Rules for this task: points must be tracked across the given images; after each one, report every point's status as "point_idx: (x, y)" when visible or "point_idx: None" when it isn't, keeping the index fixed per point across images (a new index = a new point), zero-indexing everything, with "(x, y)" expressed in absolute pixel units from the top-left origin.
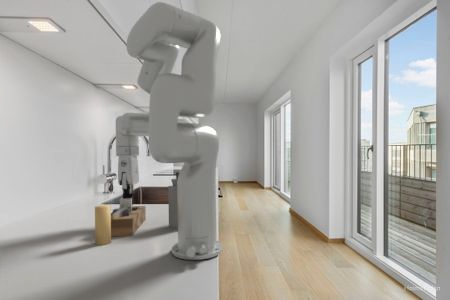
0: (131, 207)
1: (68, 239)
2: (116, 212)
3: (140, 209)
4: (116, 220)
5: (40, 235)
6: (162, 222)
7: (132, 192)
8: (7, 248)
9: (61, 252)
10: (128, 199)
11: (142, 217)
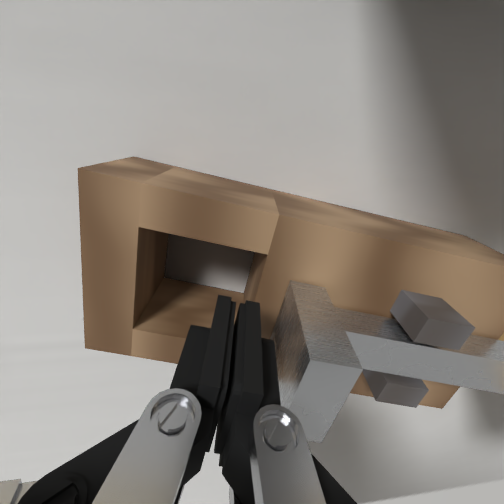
0: (314, 301)
1: (366, 419)
2: (487, 384)
3: (242, 218)
4: None
5: None
6: (258, 29)
7: (196, 401)
8: (369, 499)
9: (497, 415)
10: (349, 378)
11: (231, 187)
